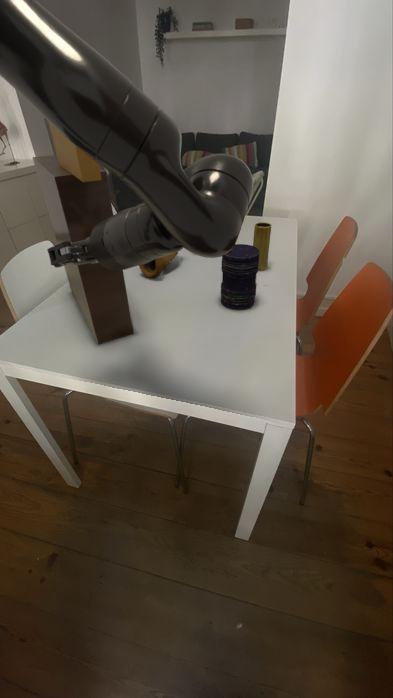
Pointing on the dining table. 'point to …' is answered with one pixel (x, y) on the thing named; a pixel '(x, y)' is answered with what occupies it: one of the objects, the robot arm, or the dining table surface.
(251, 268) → the storage jar
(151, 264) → the brown looped sculpture
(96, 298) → the dark brown tall slab
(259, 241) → the vase
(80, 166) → the mustard yellow plank
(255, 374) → the dining table surface
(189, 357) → the dining table surface
